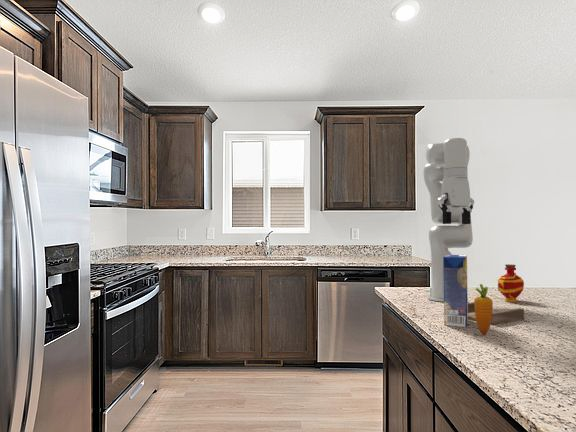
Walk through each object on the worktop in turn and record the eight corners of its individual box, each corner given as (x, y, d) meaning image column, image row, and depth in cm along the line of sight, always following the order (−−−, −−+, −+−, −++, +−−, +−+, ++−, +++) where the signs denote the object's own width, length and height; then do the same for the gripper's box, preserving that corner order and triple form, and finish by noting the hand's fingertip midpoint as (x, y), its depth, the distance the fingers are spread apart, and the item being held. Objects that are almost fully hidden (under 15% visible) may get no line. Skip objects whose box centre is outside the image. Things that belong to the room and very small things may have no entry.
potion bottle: (528, 303, 177) (527, 266, 178) (501, 302, 180) (500, 265, 180) (520, 298, 188) (519, 263, 188) (494, 298, 190) (493, 263, 190)
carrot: (491, 339, 125) (491, 286, 125) (473, 336, 127) (472, 285, 128) (494, 335, 129) (493, 284, 129) (476, 332, 132) (475, 282, 132)
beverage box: (467, 319, 149) (466, 255, 150) (467, 326, 139) (466, 257, 139) (446, 318, 152) (445, 254, 152) (444, 325, 142) (443, 257, 142)
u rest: (450, 315, 156) (450, 305, 156) (481, 310, 164) (481, 301, 164) (492, 324, 141) (492, 314, 141) (524, 319, 149) (523, 309, 149)
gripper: (463, 177, 159) (464, 224, 158) (429, 174, 150) (430, 224, 150) (481, 174, 152) (482, 224, 152) (447, 171, 144) (448, 223, 143)
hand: (456, 224), depth 151 cm, fingers open, 9 cm apart
